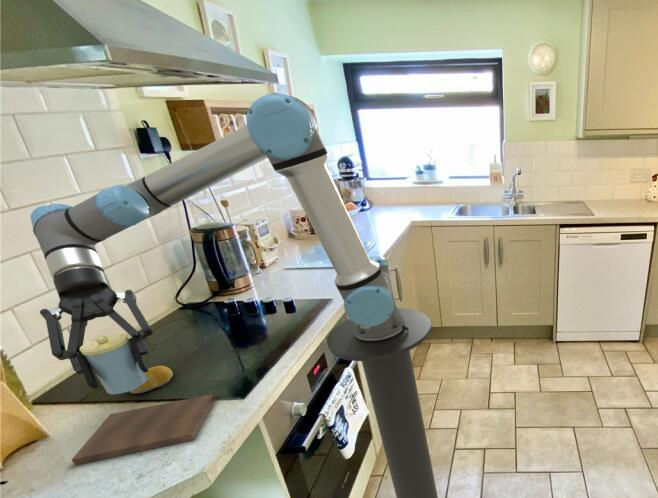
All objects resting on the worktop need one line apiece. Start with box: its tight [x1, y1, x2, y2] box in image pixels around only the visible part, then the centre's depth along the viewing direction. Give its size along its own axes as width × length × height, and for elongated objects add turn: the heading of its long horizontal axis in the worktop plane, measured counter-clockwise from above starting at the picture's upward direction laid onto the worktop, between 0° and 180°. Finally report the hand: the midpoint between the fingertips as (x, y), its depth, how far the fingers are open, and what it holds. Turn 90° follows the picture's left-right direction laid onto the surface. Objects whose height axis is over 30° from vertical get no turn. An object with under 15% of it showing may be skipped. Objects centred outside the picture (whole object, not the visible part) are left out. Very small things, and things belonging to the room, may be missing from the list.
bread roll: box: [128, 365, 174, 395], centre depth 103 cm, size 8×9×4 cm
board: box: [71, 393, 217, 466], centre depth 88 cm, size 20×14×2 cm
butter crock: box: [79, 333, 148, 395], centre depth 81 cm, size 7×7×11 cm
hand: (119, 377), depth 79 cm, fingers closed on butter crock, 7 cm apart
